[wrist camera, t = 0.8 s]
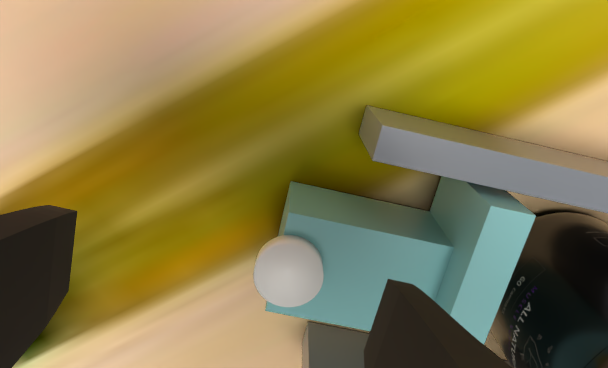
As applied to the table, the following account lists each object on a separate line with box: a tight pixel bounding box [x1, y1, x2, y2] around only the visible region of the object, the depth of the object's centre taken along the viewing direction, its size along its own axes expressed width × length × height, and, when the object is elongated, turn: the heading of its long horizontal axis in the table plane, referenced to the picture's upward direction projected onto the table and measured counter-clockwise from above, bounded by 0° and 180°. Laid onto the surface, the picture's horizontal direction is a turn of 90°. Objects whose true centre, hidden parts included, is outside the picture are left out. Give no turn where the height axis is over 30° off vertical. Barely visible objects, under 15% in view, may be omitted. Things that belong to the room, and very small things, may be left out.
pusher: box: [254, 176, 536, 345], centre depth 19 cm, size 8×8×5 cm
